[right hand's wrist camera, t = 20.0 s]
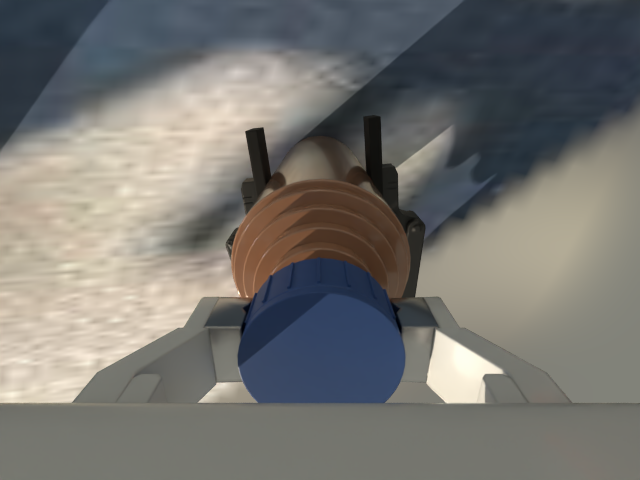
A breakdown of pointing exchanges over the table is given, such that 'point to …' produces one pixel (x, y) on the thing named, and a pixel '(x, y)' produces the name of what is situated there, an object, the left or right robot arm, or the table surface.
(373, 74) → the table surface
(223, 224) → the table surface
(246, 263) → the bottle
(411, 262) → the left robot arm
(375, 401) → the cap
